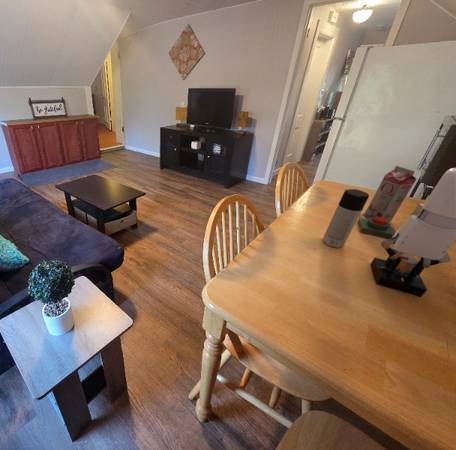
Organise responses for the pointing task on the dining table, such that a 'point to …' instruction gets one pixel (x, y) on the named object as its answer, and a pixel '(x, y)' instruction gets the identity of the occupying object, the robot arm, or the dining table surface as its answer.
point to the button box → (375, 228)
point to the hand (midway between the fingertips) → (399, 270)
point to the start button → (380, 220)
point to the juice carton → (391, 193)
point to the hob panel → (396, 279)
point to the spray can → (345, 217)
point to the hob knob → (404, 265)
